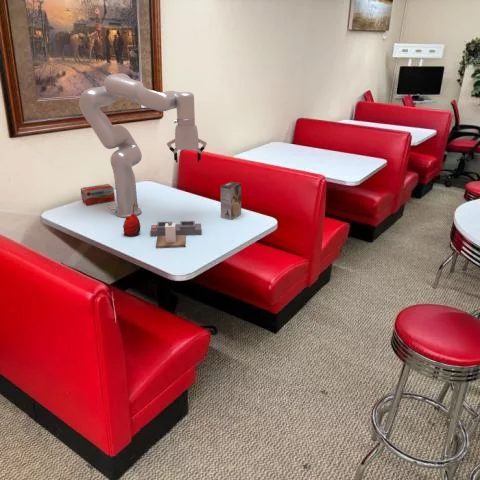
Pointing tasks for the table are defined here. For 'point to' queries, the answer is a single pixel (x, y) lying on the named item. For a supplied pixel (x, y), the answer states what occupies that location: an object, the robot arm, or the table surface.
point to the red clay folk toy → (131, 224)
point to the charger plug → (170, 232)
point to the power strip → (177, 228)
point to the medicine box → (97, 194)
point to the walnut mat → (179, 242)
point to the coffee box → (230, 200)
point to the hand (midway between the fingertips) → (187, 161)
